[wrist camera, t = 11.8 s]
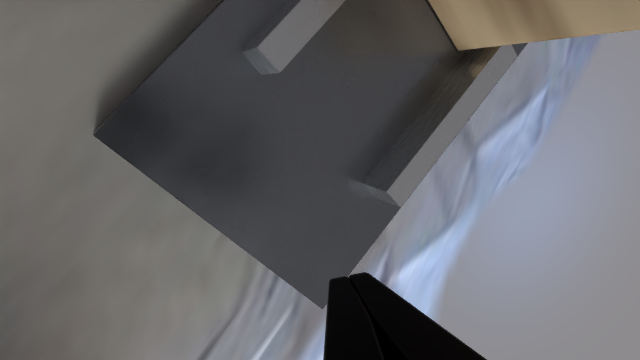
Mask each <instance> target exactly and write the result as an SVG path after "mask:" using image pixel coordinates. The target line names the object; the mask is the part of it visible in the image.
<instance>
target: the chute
mask: <svg viewBox="0 0 640 360" xmlns="http://www.w3.org/2000/svg"><path fill="white" fill-rule="evenodd" d="M526 45H527V43H520V44H511V45H502V46H494V47H485V48H476V49H468V50H459V51H458V49H457V48H456V46H455V44H454V43H453V41H452V39H451V38H450V36H449V34H448V33H447V31H446V29H445V28H444V26H443V24H442V22H441V21H440V19H439V17H438V16H437V14H436V12H435V11H434V9H433V7H432V6H431V4H430V2H429V1H428V0H222V1H221V2H220V3H219V4H218V5H217V6H216V7H215V8H214V9H213V10H212V11H211V13H210V14H209V15H208V16H207V17H206V18H205V19H204V20H203V21H202V22H201V23H200V24H199V25H198V26H197V27H196V28H195V29H194V30H193V31H192V32H191V33H190V34H189V35H188V36H187V37H186V38H185V39H184V40H183V41H182V42H181V43H180V44H179V45H178V46H177V47H176V48H175V49H174V50H173V51H172V52H171V53H170V54H169V55H168V56H167V57H166V58H165V59H164V60H163V61H162V62H161V63H160V64H159V66H158V67H157V68H156V69H155V70H154V71H153V72H152V73H151V74H150V75H149V76H148V77H147V78H146V79H145V80H144V81H143V82H142V83H141V84H140V85H139V86H138V87H137V88H136V89H135V90H134V91H133V92H132V93H131V94H130V95H129V96H128V97H127V98H126V99H125V100H124V101H123V102H122V103H121V104H120V105H119V106H118V107H117V108H116V109H115V110H114V111H113V112H112V113H111V114H110V115H109V116H108V117H107V119H106V120H105V121H104V122H103V123H102V124H101V125H100V126H99V127H98V128H97V129H96V130H95V131H94V133H93V135H94V136H95V137H96V138H98V139H99V140H100V141H102V142H103V143H104V144H105V145H107V146H108V147H109V148H111V149H112V150H113V151H115V152H116V153H117V154H119V155H120V156H121V157H123V158H124V159H125V160H127V161H128V162H129V163H131V164H132V165H133V166H134V167H136V168H137V169H138V170H140V171H141V172H142V173H144V174H145V175H146V176H148V177H149V178H150V179H152V180H153V181H154V182H156V183H157V184H158V185H159V186H161V187H162V188H163V189H165V190H166V191H167V192H169V193H170V194H171V195H173V196H174V197H175V198H177V199H178V200H179V201H181V202H182V203H183V204H185V205H186V206H187V207H188V208H190V209H191V210H192V211H194V212H195V213H196V214H198V215H199V216H200V217H202V218H203V219H204V220H206V221H207V222H208V223H210V224H211V225H212V226H214V227H215V228H216V229H217V230H219V231H220V232H221V233H223V234H224V235H225V236H227V237H228V238H229V239H231V240H232V241H233V242H235V243H236V244H237V245H239V246H240V247H241V248H242V249H244V250H245V251H246V252H248V253H249V254H250V255H252V256H253V257H254V258H256V259H257V260H258V261H260V262H261V263H262V264H264V265H265V266H266V267H268V268H269V269H270V270H271V271H273V272H274V273H275V274H277V275H278V276H279V277H281V278H282V279H283V280H285V281H286V282H287V283H289V284H290V285H291V286H293V287H294V288H295V289H296V290H298V291H299V292H300V293H302V294H303V295H304V296H306V297H307V298H308V299H310V300H311V301H312V302H314V303H315V304H316V305H318V306H319V307H320V308H322V309H323V308H324V307H325V305H326V304H327V302H328V288H329V280H330V279H333V278H338V277H343V276H346V277H348V275H349V274H350V273H351V272H352V270H353V269H354V268H355V266H356V265H357V264H358V262H359V261H360V260H361V259H362V257H363V256H364V255H365V253H366V252H367V251H368V250H369V248H370V247H371V246H372V244H373V243H374V242H375V240H376V239H377V238H378V237H379V235H380V234H381V233H382V231H383V230H384V229H385V227H386V226H387V225H388V224H389V222H390V221H391V220H392V218H393V217H394V216H395V215H396V213H397V212H398V211H399V209H400V208H401V207H402V205H403V204H404V203H405V202H406V200H407V199H408V198H409V196H410V195H411V194H412V192H413V191H414V190H415V189H416V187H417V186H418V185H419V183H420V182H421V181H422V180H423V178H424V177H425V176H426V174H427V173H428V172H429V170H430V169H431V168H432V167H433V165H434V164H435V163H436V161H437V160H438V159H439V157H440V156H441V155H442V154H443V152H444V151H445V150H446V148H447V147H448V146H449V145H450V143H451V142H452V141H453V139H454V138H455V137H456V135H457V134H458V133H459V132H460V130H461V129H462V128H463V126H464V125H465V124H466V122H467V121H468V120H469V119H470V117H471V116H472V115H473V113H474V112H475V111H476V110H477V108H478V107H479V106H480V104H481V103H482V102H483V100H484V99H485V98H486V97H487V95H488V94H489V93H490V91H491V90H492V89H493V87H494V86H495V85H496V84H497V82H498V81H499V80H500V78H501V77H502V76H503V75H504V73H505V72H506V71H507V69H508V68H509V67H510V65H511V64H512V63H513V62H514V60H515V59H516V58H517V56H518V55H519V54H520V52H521V51H522V50H523V49H524V47H525V46H526Z"/></svg>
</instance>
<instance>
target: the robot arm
mask: <svg viewBox="0 0 640 360" xmlns="http://www.w3.org/2000/svg"><path fill="white" fill-rule="evenodd" d="M323 360H487V359H485V358H484V357H482V356H481V355H480V354H478V353H477V352H476V351H474V350H473V349H472V348H470V347H469V346H467V345H465V343H463V342H462V341H461V340H459V339H458V338H456V337H455V336H454V335H452V334H451V333H450V332H448V331H447V330H445V329H444V328H443V327H441V326H440V325H439V324H437V323H436V322H435V321H433V320H432V319H430V318H429V317H428V316H426V315H425V314H424V313H422V312H421V311H419V310H418V309H417V308H415V307H414V306H413V305H411V304H410V303H408V302H407V301H406V300H404V299H403V298H402V297H400V296H399V295H398V294H396V293H395V292H393V291H392V290H391V289H389V288H388V287H387V286H385V285H384V284H382V283H381V282H380V281H378V280H377V279H376V278H374V277H373V276H371V275H370V274H369V273H366V272H363V273H358V274H353V275H350V276H349V277H346V276H343V277H338V278H333V279H330V280H329V288H328V302H327V316H326V330H325V345H324V359H323Z"/></svg>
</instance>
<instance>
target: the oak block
mask: <svg viewBox="0 0 640 360" xmlns="http://www.w3.org/2000/svg"><path fill="white" fill-rule="evenodd" d="M428 1H429V2H430V4H431V6H432V7H433V9H434V11H435V12H436V14H437V16H438V17H439V19H440V21H441V22H442V24H443V26H444V28H445V29H446V31H447V33H448V34H449V36H450V38H451V39H452V41H453V43H454V44H455V46H456V48H457V49H458V51H459V50H468V49H476V48H485V47H494V46H502V45H511V44H520V43H529V42H537V41H546V40H555V39H563V38H572V37H581V36H589V35H598V34H607V33H614V32H624V31H632V30H640V0H428Z"/></svg>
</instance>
